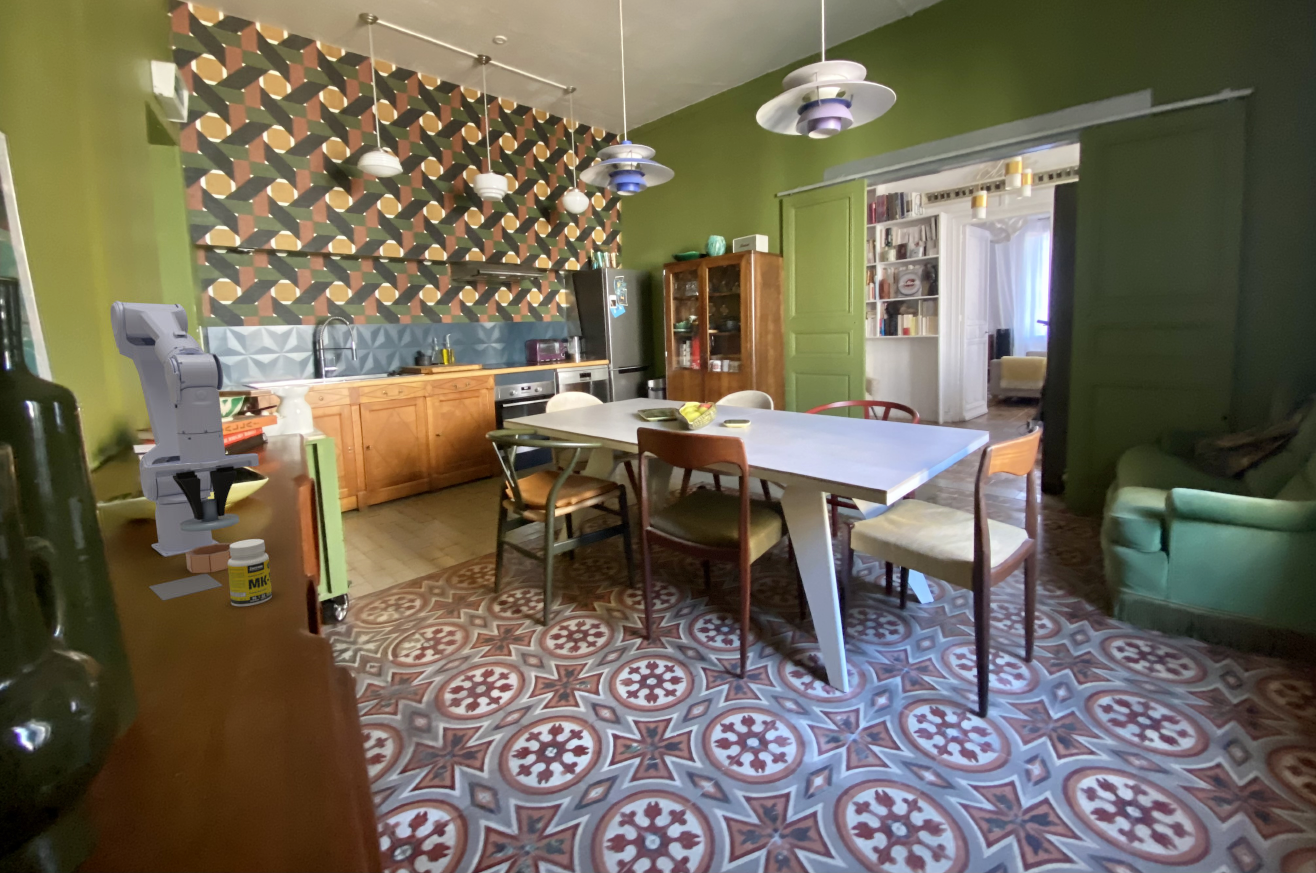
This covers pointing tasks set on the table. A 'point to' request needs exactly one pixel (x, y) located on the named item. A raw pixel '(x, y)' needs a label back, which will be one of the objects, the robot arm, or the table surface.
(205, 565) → the bowl
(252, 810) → the table surface
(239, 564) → the supplement bottle
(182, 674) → the table surface
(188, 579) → the mat
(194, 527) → the lid
